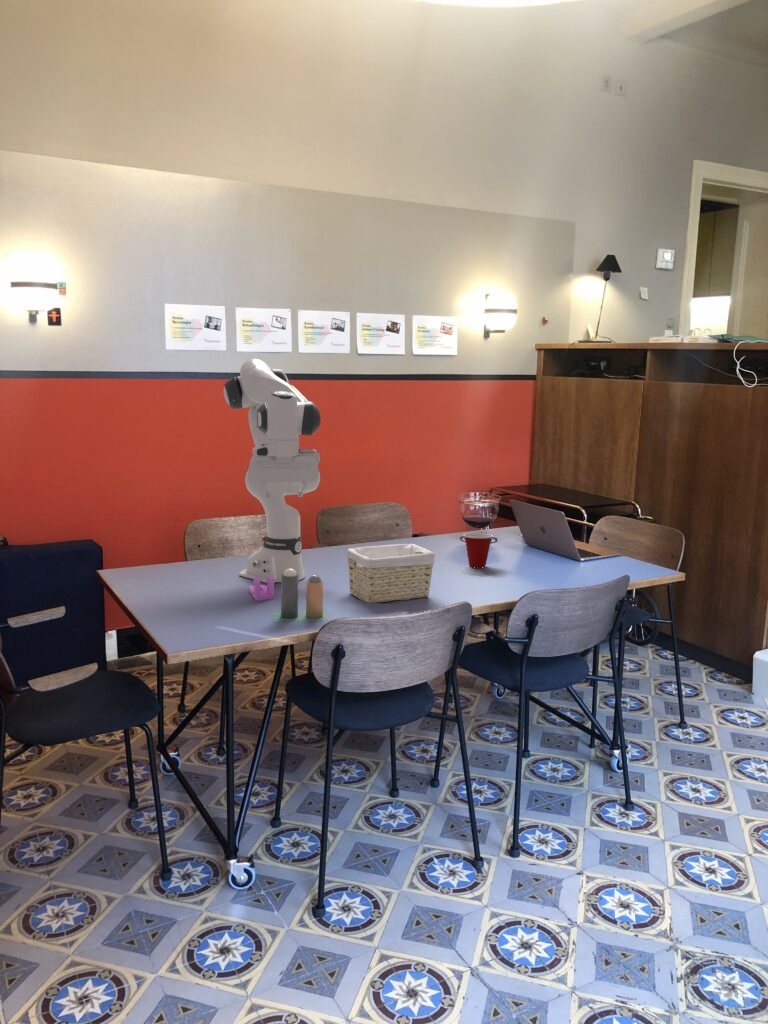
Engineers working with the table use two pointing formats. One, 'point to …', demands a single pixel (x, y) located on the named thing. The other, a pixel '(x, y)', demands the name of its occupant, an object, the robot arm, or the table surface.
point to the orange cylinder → (314, 597)
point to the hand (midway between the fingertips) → (283, 496)
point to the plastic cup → (477, 548)
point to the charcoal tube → (289, 594)
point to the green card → (300, 617)
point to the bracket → (262, 589)
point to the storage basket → (390, 572)
